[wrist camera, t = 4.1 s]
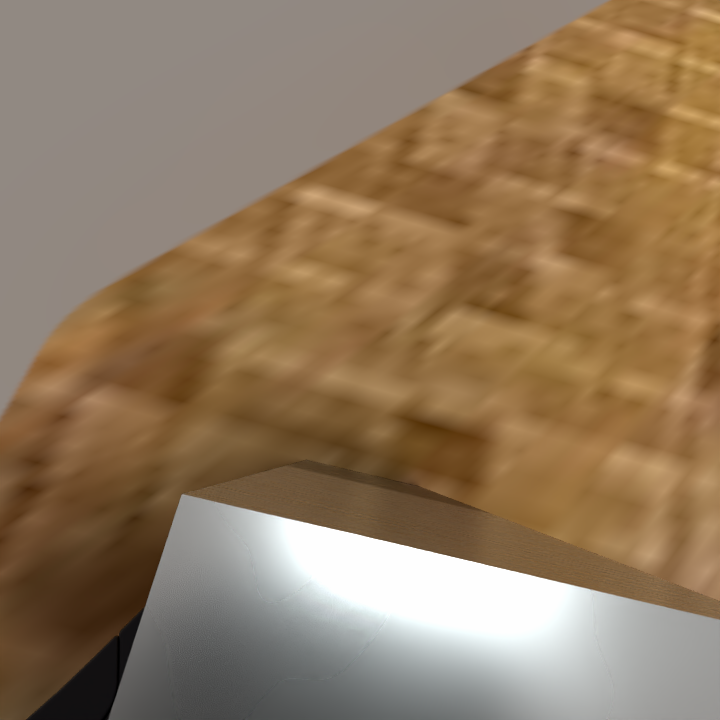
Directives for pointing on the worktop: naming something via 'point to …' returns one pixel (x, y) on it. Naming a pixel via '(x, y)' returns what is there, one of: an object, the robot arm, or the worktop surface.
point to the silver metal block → (403, 614)
